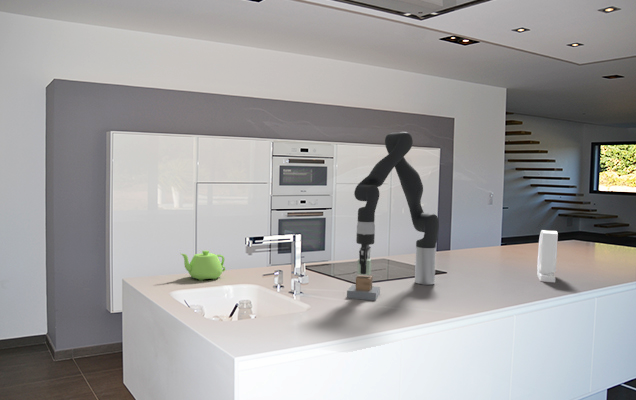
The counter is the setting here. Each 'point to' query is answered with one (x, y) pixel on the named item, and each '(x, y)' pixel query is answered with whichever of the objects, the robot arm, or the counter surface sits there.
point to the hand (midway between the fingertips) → (364, 272)
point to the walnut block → (364, 283)
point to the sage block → (368, 267)
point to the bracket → (547, 255)
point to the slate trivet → (363, 293)
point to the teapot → (204, 265)
